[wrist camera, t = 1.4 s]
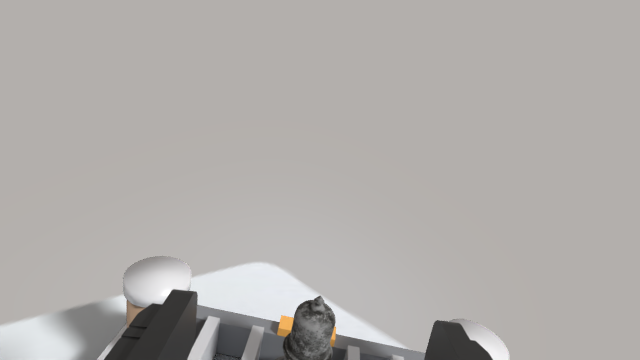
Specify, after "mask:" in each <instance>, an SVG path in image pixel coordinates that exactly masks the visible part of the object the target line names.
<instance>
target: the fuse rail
mask: <svg viewBox="0 0 640 360" xmlns="http://www.w3.org/2000/svg"><path fill="white" fill-rule="evenodd" d="M293 320H294V318H292V317H287V316H282V315H281V319H280V322H276V321H271V320H266V319H261V318H257V317H252V316H247V315H242V314H238V313H233V312H228V311H224V310H219V309H214V308H209V307H205V306H200V305H197V315H196V332H195V338H194V343H193V346H192V349H191V352H190V354H189V356H188V359H187V360H213V358H214V356H215V354H216V353H220V354H224V355H229V356H234V357H238V358H242V359H241V360H275V359H277V358H278V357H281V356H284V352H283V341H284V339H285V337H286V336H287V335H288V334H289V333H290V332H291V329H292V324H293ZM126 329H127V323H126V324H125V325H124V326H123V328H122V329H121V330H120V331H119V333H118V334H117V335H116V336H115V337H114V339H113V340H112V341H111V342H110V344H109V345H108V346H107V347H106V349H105V350H104V351H103V352H102V354H101V355H100V356H99V357H98V359H97V360H104V358H105V357H106V356H107V354H108V353H109V352H110V350H111V349H112V348H113V346H114V345H115V344H116V342H117V341H118V340H119V338H121V335H122V334H123V333H124V331H125V330H126ZM330 345H331V347H332V358H331V360H424V358H425V354H426V353H422V352H417V351H413V350H408V349H403V348H399V347H394V346H389V345H384V344H380V343H375V342H370V341H365V340H361V339H356V338H351V337H347V336H342V335H337V334H336V327H334V330H333V334H332V337H331V341H330Z"/></svg>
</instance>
